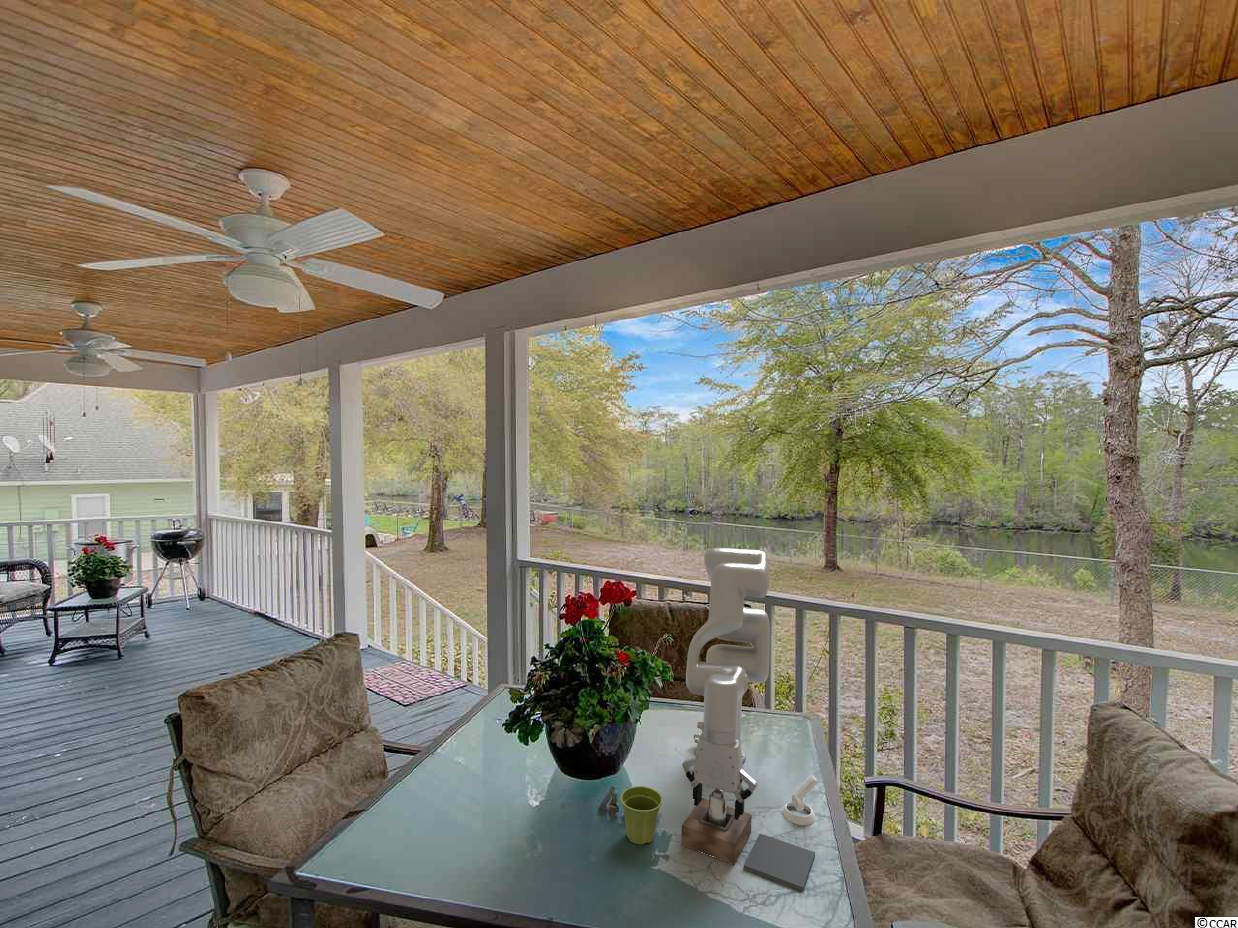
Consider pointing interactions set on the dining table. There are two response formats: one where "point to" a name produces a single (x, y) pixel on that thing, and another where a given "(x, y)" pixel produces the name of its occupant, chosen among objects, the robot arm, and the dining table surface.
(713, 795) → the steel peg
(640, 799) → the plant pot
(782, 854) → the mat
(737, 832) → the block
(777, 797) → the dining table surface
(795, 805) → the white ring with handle
